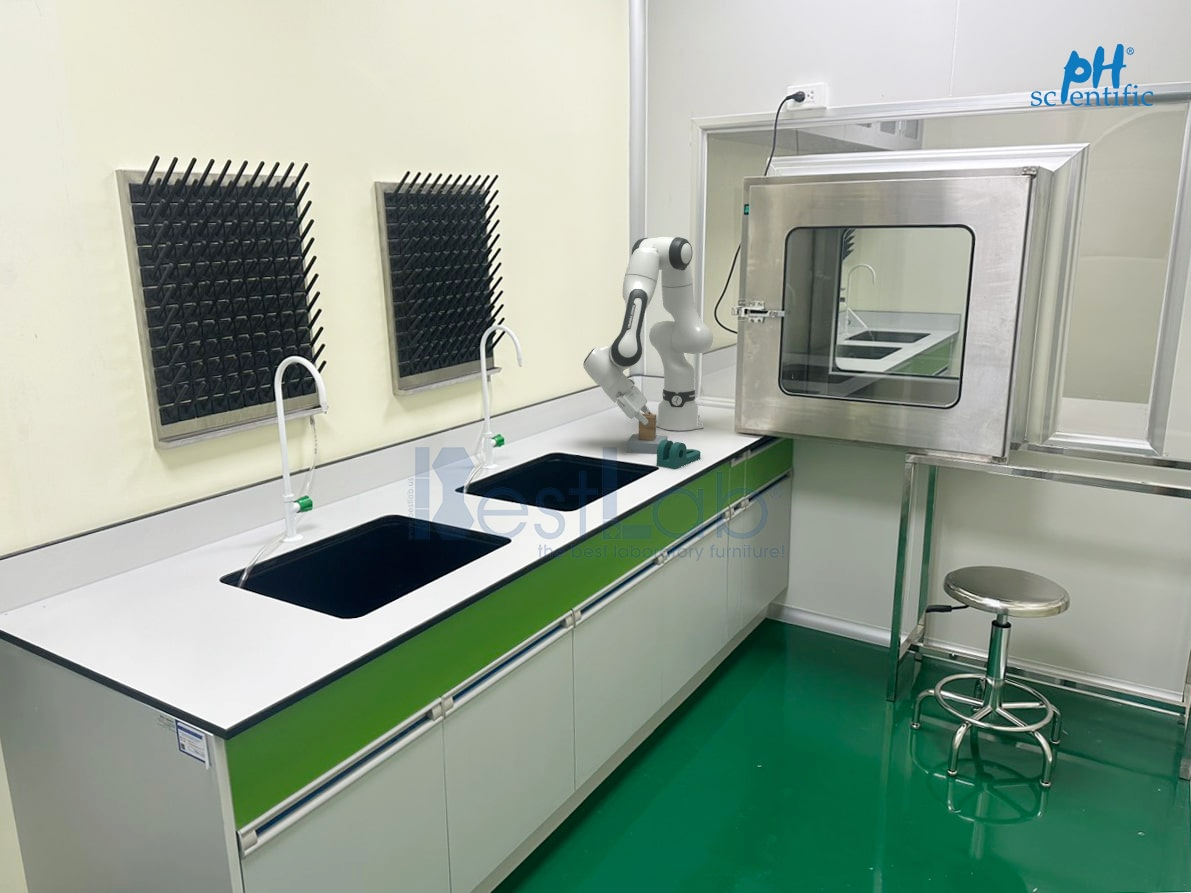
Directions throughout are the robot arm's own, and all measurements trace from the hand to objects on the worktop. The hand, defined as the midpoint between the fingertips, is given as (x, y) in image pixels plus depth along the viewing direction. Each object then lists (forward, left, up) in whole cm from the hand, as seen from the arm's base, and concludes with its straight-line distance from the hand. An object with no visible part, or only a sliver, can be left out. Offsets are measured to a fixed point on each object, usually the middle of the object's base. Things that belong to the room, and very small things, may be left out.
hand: (649, 420), depth 289 cm
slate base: (0, -1, -10) cm, 10 cm away
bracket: (+13, +12, -10) cm, 21 cm away
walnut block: (0, -1, -6) cm, 6 cm away
